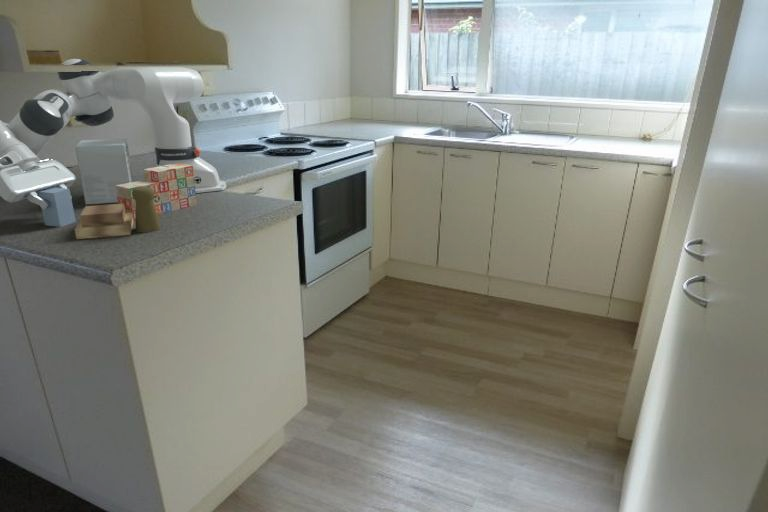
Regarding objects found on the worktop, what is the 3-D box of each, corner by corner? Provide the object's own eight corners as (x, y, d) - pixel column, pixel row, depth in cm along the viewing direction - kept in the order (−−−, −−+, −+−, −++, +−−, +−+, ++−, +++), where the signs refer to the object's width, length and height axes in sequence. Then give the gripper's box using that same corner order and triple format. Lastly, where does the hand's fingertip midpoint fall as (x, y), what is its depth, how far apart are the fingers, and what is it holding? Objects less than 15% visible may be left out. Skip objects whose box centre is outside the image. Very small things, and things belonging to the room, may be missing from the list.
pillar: (60, 219, 142) (53, 187, 139) (75, 221, 141) (69, 188, 138) (45, 225, 137) (37, 191, 134) (60, 226, 136) (53, 193, 133)
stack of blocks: (134, 221, 142) (127, 177, 138) (120, 218, 145) (112, 174, 141) (197, 205, 159) (193, 164, 155) (183, 202, 162) (179, 162, 158)
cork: (132, 228, 136) (125, 186, 132) (155, 223, 140) (149, 183, 136) (141, 233, 132) (134, 191, 128) (164, 229, 136) (159, 187, 132)
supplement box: (135, 192, 172) (127, 138, 166) (133, 201, 161) (124, 144, 155) (90, 194, 168) (80, 139, 162) (85, 205, 156) (73, 146, 150)
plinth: (133, 221, 142) (130, 201, 140) (130, 234, 131) (127, 213, 129) (83, 225, 138) (79, 205, 136) (76, 239, 127) (72, 217, 125)
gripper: (47, 165, 147) (83, 201, 148) (-22, 180, 128) (19, 221, 129) (57, 149, 144) (93, 187, 145) (-12, 163, 125) (30, 205, 127)
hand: (58, 203), depth 137 cm, fingers open, 5 cm apart
